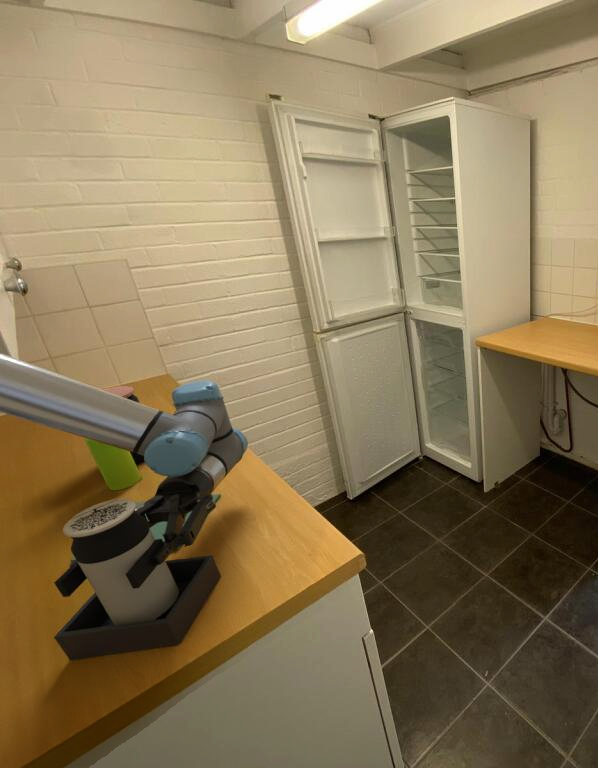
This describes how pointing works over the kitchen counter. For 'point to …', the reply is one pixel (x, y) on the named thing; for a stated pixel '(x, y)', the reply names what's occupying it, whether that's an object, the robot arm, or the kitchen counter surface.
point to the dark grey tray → (101, 637)
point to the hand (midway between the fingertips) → (97, 585)
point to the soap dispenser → (114, 465)
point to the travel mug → (119, 561)
